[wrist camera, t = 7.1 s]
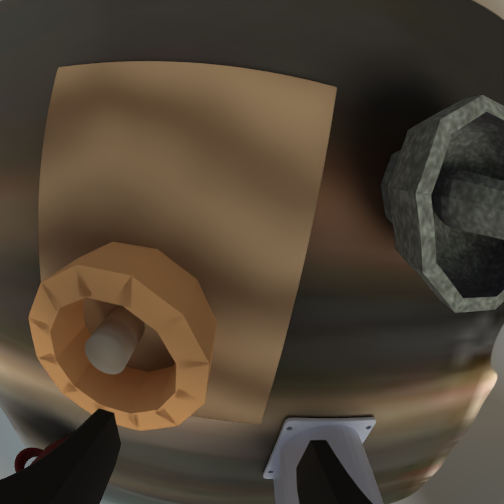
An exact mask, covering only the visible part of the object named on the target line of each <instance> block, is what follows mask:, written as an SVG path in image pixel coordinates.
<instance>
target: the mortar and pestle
mask: <svg viewBox="0 0 504 504" xmlns="http://www.w3.org/2000/svg"><path fill="white" fill-rule="evenodd" d="M380 185H381V191H382V197H383V203H384V209H385V216H386V218H387V219H388V220H389V221H390V222H391V223H392V224H393V229H394V237H395V246H396V250H397V251H398V252H399V253H400V254H401V256H402V257H403V258H404V259H405V260H406V261H407V263H408V264H409V265H410V266H411V267H412V268H413V269H414V270H415V271H416V273H417V274H418V275H419V276H420V277H421V278H422V279H423V281H424V282H425V283H426V284H427V285H428V286H429V288H430V289H431V290H432V291H433V292H434V294H435V295H436V296H437V297H438V298H439V300H440V301H442V302H443V303H444V304H445V305H446V306H448V307H449V308H450V309H451V310H453V311H454V312H455V313H458V312H471V311H482V310H493V309H496V308H497V307H498V306H499V305H500V304H501V303H502V302H504V106H502V105H501V104H499V103H497V102H495V101H493V100H491V99H489V98H487V97H485V96H483V95H480V96H475V97H470V98H466V99H463V100H461V101H459V102H457V103H455V104H453V105H451V106H449V107H447V108H445V109H444V110H442V111H440V112H438V113H437V114H435V115H433V116H431V117H430V118H428V119H426V120H424V121H423V122H421V123H419V124H417V125H416V126H414V127H412V128H410V129H409V130H408V132H407V134H406V137H405V140H404V143H403V146H402V149H401V150H399V151H397V152H396V153H394V154H392V155H391V158H390V161H389V163H388V166H387V169H386V171H385V174H384V177H383V179H382V182H381V184H380Z"/></svg>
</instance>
